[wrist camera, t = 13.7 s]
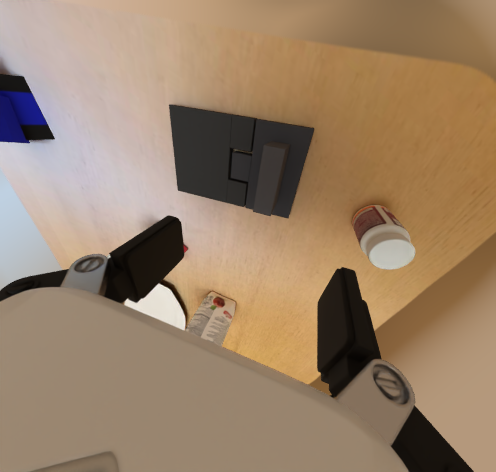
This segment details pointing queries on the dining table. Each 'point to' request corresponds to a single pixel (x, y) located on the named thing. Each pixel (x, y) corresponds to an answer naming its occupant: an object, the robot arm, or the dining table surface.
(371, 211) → the pill bottle
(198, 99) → the dining table surface
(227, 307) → the juice carton
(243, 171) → the pad
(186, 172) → the base pad
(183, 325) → the plate
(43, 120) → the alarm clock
